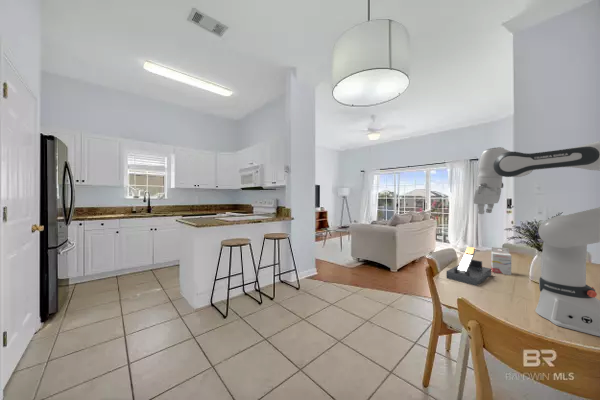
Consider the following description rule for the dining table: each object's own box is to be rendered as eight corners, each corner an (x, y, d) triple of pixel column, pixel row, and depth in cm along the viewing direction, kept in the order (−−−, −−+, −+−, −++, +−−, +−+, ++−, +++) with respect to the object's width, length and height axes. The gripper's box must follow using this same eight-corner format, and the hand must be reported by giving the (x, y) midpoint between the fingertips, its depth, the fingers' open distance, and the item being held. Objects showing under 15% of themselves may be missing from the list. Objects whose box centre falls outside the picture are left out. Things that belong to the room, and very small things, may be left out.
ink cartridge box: (492, 272, 133) (492, 248, 133) (491, 270, 138) (490, 246, 137) (511, 275, 129) (511, 250, 128) (509, 272, 133) (509, 248, 133)
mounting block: (491, 275, 129) (491, 262, 129) (476, 285, 115) (476, 271, 115) (463, 269, 141) (463, 257, 140) (446, 278, 127) (446, 265, 127)
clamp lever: (476, 250, 129) (475, 247, 128) (465, 275, 120) (465, 272, 119) (468, 248, 132) (467, 246, 132) (457, 273, 123) (456, 270, 123)
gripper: (488, 183, 94) (484, 215, 95) (504, 184, 105) (501, 213, 107) (471, 183, 99) (467, 213, 101) (488, 183, 110) (484, 211, 112)
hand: (485, 213), depth 104 cm, fingers open, 8 cm apart
